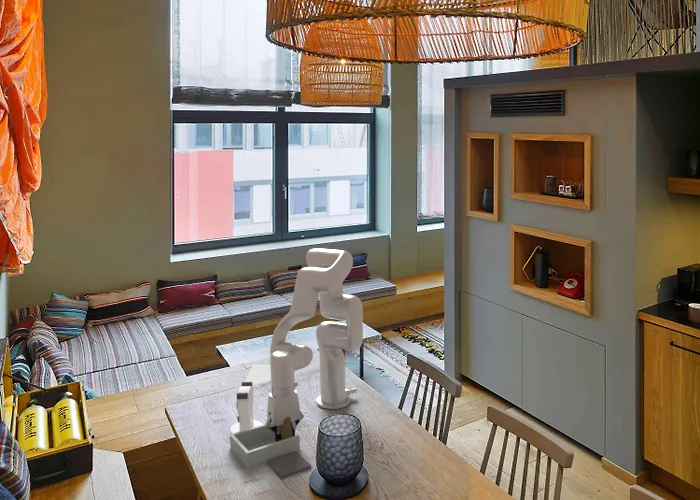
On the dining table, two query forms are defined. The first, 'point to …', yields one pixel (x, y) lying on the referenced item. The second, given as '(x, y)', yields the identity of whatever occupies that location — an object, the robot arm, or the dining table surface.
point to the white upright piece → (245, 409)
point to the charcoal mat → (288, 464)
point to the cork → (286, 429)
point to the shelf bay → (263, 452)
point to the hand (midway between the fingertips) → (285, 440)
